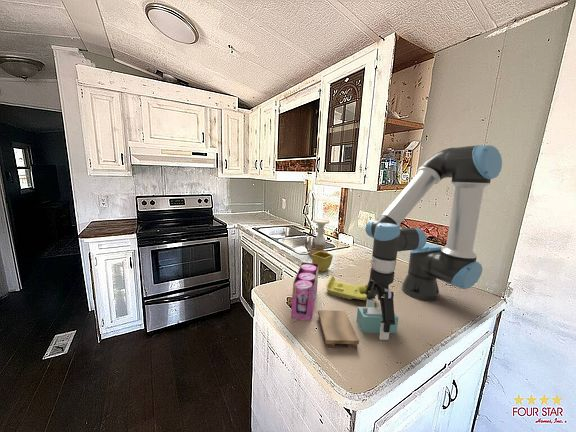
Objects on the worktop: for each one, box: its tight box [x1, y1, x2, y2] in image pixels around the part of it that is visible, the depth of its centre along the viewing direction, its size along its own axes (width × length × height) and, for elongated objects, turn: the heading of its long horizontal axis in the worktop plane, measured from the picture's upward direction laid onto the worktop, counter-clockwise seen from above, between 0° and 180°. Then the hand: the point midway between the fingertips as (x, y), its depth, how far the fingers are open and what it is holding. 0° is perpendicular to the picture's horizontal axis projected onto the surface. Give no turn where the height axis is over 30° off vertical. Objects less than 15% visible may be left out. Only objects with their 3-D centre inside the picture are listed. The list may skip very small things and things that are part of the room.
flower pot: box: [311, 251, 334, 273], centre depth 132 cm, size 9×9×9 cm
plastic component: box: [326, 275, 368, 301], centre depth 105 cm, size 20×7×10 cm
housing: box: [356, 306, 399, 334], centre depth 83 cm, size 12×6×7 cm, turn 92°
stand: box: [317, 309, 360, 350], centre depth 80 cm, size 10×16×3 cm, turn 2°
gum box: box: [290, 261, 319, 322], centre depth 95 cm, size 24×8×14 cm, turn 168°
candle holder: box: [307, 218, 330, 259], centre depth 151 cm, size 11×11×24 cm
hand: (375, 326), depth 84 cm, fingers open, 12 cm apart
